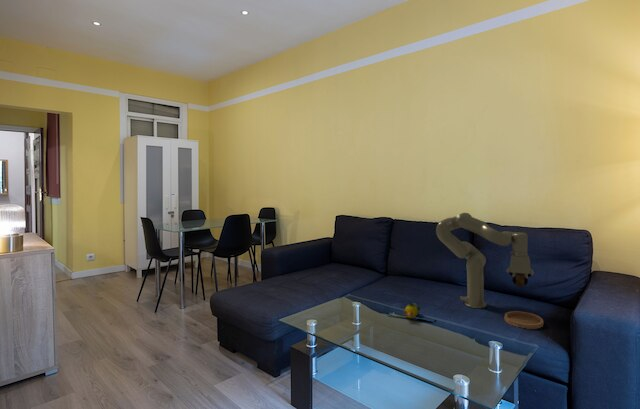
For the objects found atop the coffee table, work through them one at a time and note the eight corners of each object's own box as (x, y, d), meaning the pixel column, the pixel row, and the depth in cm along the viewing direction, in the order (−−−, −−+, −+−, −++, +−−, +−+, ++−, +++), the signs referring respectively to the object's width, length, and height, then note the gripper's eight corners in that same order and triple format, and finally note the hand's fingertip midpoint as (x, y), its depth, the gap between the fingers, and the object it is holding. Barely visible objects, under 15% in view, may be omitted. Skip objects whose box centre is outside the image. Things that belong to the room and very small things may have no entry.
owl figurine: (384, 304, 203) (391, 296, 216) (384, 319, 203) (392, 310, 216) (433, 311, 189) (438, 303, 203) (433, 327, 190) (438, 317, 203)
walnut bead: (515, 286, 201) (515, 273, 201) (514, 283, 206) (515, 271, 205) (525, 286, 199) (525, 274, 198) (524, 284, 203) (524, 272, 203)
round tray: (503, 325, 187) (503, 321, 187) (504, 312, 204) (504, 309, 203) (544, 331, 178) (544, 327, 178) (542, 318, 194) (542, 314, 194)
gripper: (503, 254, 201) (503, 284, 203) (537, 256, 193) (537, 287, 195) (503, 251, 208) (503, 280, 210) (536, 253, 200) (536, 283, 201)
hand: (520, 283), depth 202 cm, fingers closed on walnut bead, 5 cm apart
